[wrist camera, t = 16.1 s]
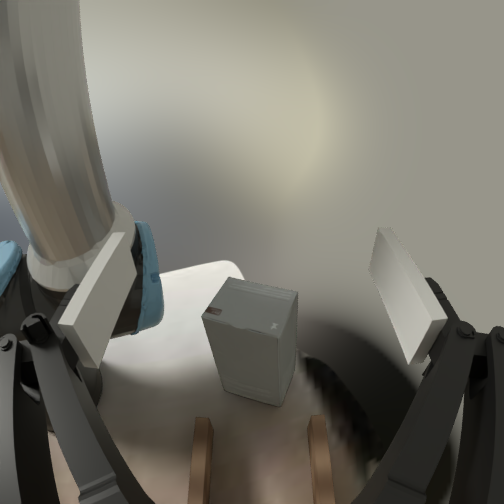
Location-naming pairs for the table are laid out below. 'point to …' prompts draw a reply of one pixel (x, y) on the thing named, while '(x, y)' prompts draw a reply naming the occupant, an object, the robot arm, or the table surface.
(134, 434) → the table surface
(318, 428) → the walnut u-shaped frame
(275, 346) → the skincare box
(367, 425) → the table surface
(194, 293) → the table surface
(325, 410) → the table surface
